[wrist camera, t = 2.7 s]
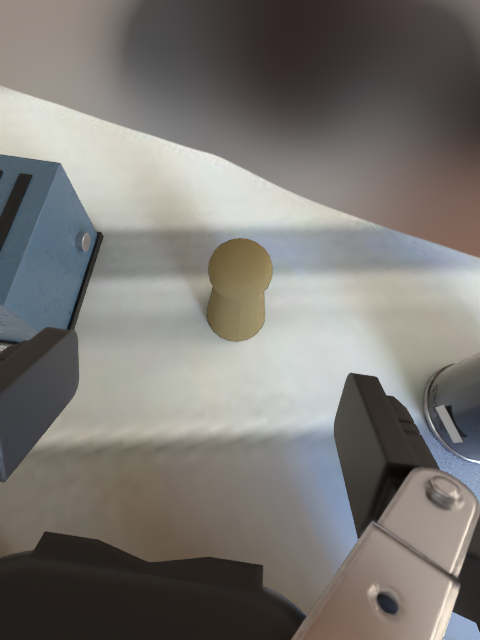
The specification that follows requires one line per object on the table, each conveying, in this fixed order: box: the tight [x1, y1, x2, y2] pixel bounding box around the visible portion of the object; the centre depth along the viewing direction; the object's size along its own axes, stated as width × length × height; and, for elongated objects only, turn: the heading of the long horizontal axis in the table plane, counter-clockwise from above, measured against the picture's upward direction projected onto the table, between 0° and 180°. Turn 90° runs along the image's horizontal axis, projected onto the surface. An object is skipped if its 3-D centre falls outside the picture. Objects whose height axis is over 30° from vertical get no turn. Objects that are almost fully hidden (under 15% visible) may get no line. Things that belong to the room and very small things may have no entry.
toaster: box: [0, 155, 103, 346], centre depth 35 cm, size 8×14×11 cm, turn 172°
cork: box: [207, 238, 273, 341], centre depth 35 cm, size 6×6×11 cm
